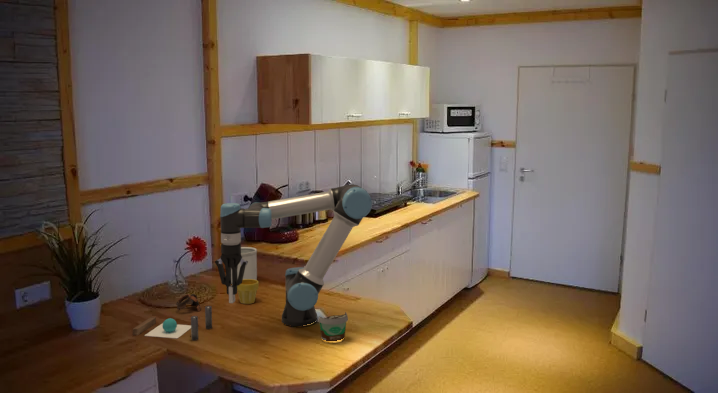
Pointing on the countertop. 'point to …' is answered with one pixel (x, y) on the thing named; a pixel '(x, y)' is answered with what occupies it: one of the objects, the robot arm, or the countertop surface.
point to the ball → (169, 325)
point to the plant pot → (247, 291)
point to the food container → (333, 327)
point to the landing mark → (175, 334)
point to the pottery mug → (188, 301)
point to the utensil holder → (251, 266)
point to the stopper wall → (144, 326)
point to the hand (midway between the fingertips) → (232, 302)
